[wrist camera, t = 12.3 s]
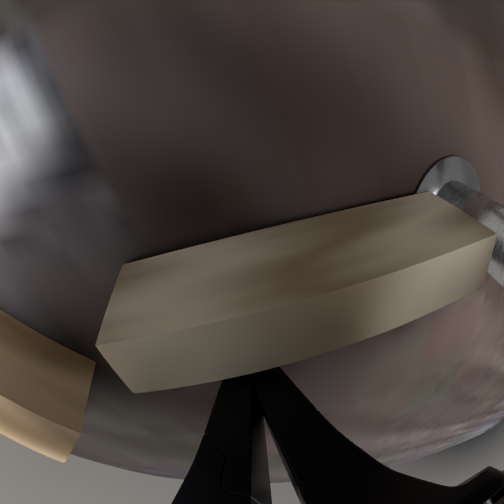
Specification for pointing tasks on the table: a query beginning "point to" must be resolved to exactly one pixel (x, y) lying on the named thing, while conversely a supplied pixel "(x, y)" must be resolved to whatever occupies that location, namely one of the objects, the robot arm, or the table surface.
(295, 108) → the table surface
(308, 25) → the table surface
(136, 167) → the table surface
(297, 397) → the robot arm
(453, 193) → the metal door knob
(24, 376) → the oak block
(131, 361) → the gate rail
